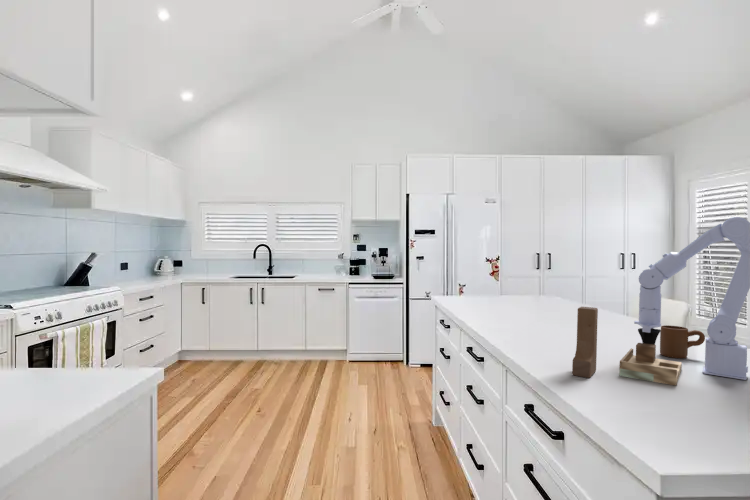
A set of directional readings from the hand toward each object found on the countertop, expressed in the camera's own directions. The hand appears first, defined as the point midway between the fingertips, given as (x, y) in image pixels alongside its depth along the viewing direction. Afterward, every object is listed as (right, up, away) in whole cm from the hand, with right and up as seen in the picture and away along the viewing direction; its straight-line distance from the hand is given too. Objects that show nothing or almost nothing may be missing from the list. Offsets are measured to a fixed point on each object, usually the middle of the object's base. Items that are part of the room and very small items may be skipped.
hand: (648, 352), depth 138 cm
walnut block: (-4, -1, -6) cm, 7 cm away
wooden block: (-26, -3, -13) cm, 29 cm away
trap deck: (-6, -3, -11) cm, 13 cm away
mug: (+15, -3, +8) cm, 18 cm away
